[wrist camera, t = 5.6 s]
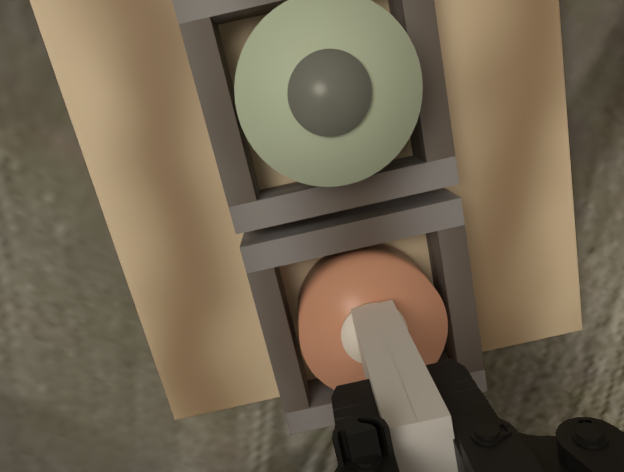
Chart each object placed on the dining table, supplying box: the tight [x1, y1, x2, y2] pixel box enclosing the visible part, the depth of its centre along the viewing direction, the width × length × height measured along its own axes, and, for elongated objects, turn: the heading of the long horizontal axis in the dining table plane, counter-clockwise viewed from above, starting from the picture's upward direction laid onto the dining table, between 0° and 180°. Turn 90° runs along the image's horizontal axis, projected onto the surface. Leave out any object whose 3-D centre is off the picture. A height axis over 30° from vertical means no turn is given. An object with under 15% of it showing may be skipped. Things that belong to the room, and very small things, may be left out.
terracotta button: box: [298, 244, 448, 390], centre depth 19 cm, size 5×5×3 cm
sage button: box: [234, 0, 423, 187], centre depth 16 cm, size 5×5×3 cm
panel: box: [30, 0, 582, 435], centre depth 19 cm, size 18×25×4 cm
